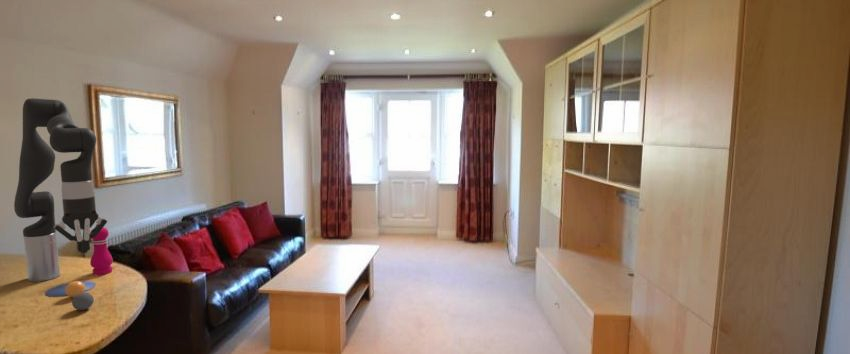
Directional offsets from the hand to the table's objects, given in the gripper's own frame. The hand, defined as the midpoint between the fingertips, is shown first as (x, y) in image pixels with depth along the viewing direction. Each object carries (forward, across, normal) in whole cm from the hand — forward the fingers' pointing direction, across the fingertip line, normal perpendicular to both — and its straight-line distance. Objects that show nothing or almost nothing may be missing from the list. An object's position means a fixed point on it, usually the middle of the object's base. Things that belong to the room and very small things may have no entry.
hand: (83, 252), depth 131 cm
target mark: (+21, 0, -34) cm, 40 cm away
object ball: (+18, 0, -24) cm, 30 cm away
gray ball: (+18, 0, -10) cm, 21 cm away
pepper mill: (+21, -12, -46) cm, 52 cm away
